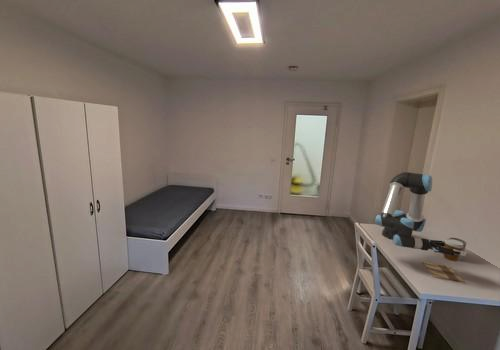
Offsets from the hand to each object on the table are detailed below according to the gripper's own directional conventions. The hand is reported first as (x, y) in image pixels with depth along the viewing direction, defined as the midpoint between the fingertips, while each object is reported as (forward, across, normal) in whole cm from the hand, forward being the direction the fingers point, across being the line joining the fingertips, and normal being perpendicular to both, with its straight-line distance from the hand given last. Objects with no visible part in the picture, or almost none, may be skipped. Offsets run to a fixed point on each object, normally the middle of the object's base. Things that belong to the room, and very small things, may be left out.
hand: (461, 250), depth 146 cm
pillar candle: (+10, -25, -17) cm, 32 cm away
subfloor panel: (-8, 0, -17) cm, 19 cm away
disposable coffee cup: (-5, 0, -7) cm, 9 cm away
